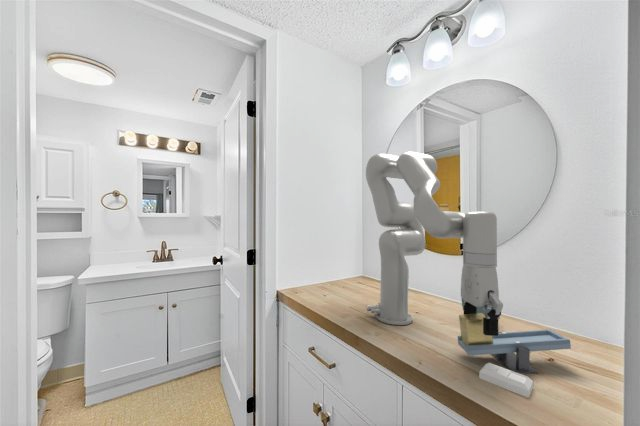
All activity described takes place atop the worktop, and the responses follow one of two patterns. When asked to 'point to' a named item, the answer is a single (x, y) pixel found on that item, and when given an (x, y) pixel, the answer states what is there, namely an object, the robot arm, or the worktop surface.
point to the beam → (519, 342)
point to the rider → (473, 330)
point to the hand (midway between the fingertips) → (479, 327)
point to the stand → (517, 360)
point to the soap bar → (507, 379)
